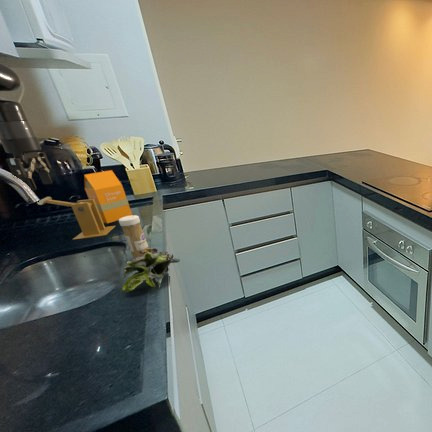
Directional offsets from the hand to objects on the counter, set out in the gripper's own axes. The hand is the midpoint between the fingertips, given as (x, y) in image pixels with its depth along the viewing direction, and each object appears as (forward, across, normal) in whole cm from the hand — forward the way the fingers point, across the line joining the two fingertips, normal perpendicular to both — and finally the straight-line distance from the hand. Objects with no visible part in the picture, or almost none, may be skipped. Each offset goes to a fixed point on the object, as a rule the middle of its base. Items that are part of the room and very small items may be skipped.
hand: (40, 187), depth 97 cm
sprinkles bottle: (+19, +28, +30) cm, 45 cm away
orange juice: (+19, -15, +10) cm, 26 cm away
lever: (+8, 0, +4) cm, 9 cm away
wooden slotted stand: (+19, 0, +9) cm, 21 cm away
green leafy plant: (+20, +46, +38) cm, 63 cm away
